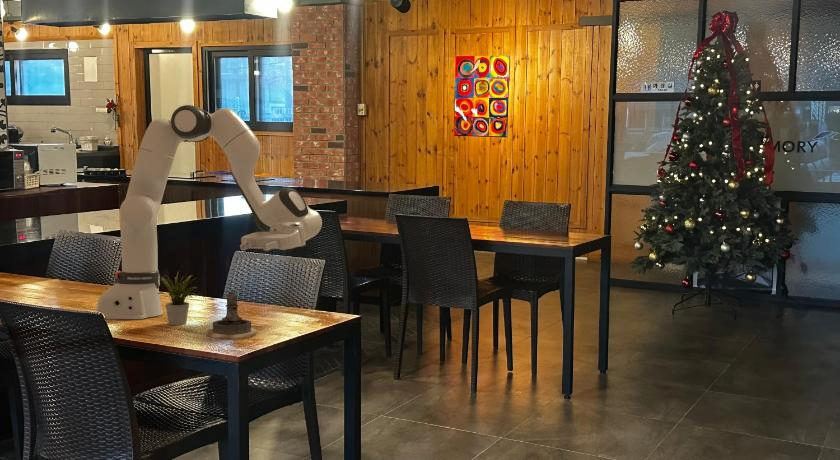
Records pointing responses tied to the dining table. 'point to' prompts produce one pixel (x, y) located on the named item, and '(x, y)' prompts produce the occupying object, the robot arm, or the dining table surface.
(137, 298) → the robot arm
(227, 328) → the collar holder
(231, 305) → the dark chess piece
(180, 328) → the dining table surface
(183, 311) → the house plant
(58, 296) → the dining table surface
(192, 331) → the dining table surface
